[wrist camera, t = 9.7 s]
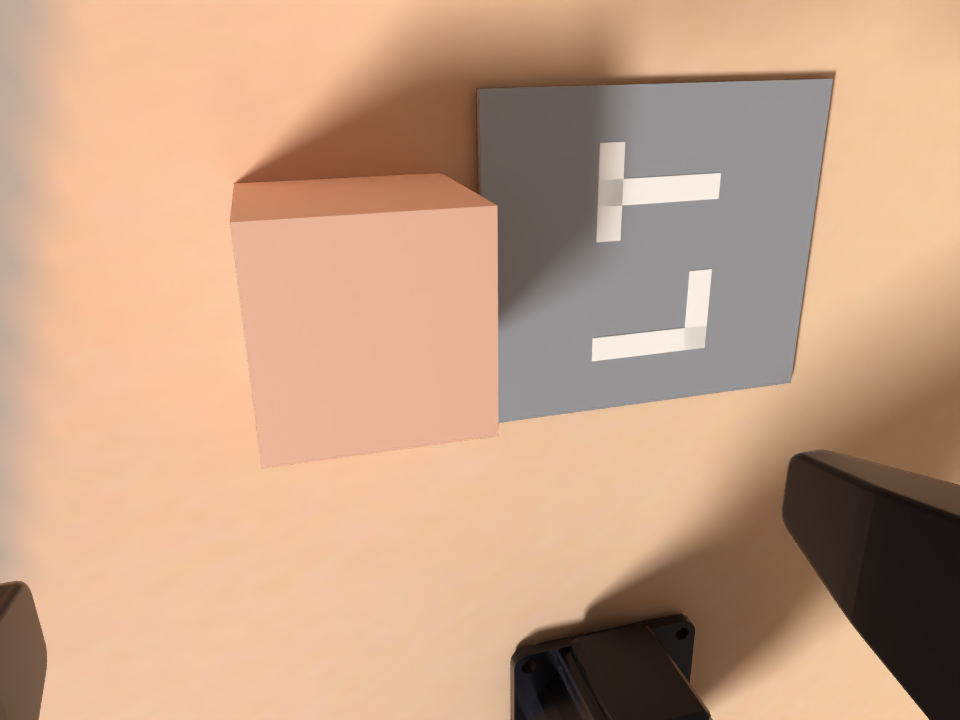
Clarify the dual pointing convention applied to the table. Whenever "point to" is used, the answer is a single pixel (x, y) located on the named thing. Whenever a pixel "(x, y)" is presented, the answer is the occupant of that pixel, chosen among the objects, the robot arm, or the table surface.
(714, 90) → the tile
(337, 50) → the table surface
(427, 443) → the block
